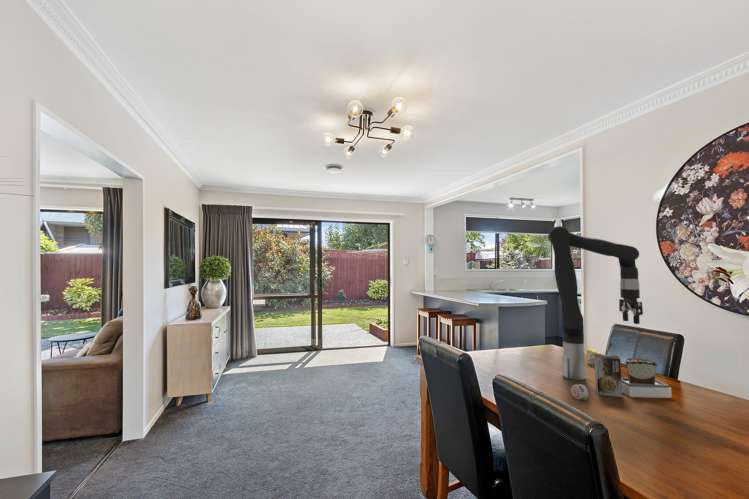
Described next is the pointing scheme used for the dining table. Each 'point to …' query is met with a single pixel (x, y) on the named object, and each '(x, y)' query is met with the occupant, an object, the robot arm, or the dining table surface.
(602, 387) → the coffee box
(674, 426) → the dining table surface
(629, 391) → the base
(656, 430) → the dining table surface
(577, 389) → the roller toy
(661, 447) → the dining table surface
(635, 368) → the food container
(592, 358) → the candy box
